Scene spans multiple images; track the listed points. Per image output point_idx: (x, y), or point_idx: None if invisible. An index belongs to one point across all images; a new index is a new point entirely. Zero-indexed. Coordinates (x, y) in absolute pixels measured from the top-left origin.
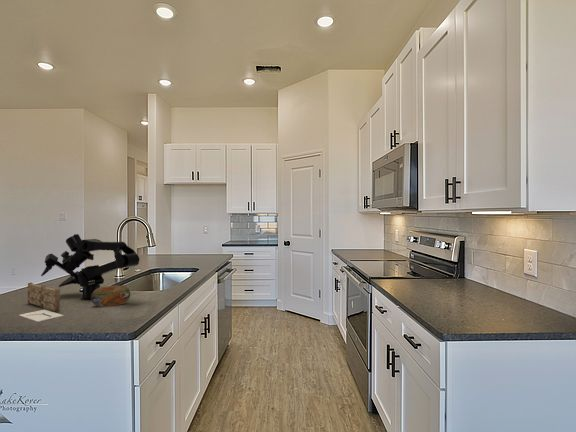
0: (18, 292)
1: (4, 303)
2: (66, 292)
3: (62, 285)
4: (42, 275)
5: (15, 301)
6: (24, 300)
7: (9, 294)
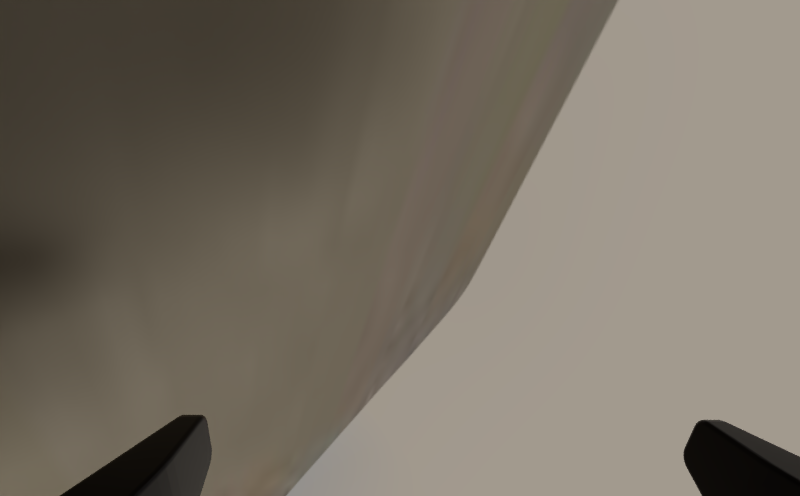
0: (410, 337)
1: (615, 5)
2: (5, 462)
3: (108, 486)
4: (746, 439)
5: (547, 58)
6: (496, 73)
7: (454, 291)
